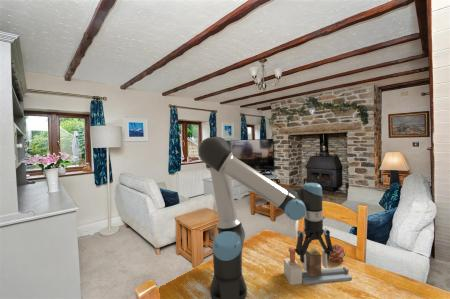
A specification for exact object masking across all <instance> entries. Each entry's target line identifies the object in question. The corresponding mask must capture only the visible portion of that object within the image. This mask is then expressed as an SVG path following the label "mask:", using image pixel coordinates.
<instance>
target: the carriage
mask: <svg viewBox="0 0 450 299" xmlns="http://www.w3.org/2000/svg"><path fill="white" fill-rule="evenodd" d="M305 256H306V271H307V273H308V274H309V275H310V276H318V275H321V269H322V254H321V253H320V252H319V251H318V250H317V249H316V248H307V250H306V253H305Z"/></svg>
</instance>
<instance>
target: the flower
mask: <svg viewBox="0 0 450 299" xmlns="http://www.w3.org/2000/svg"><path fill="white" fill-rule="evenodd" d="M332 248H333V252H330V254H329V259H330V260H329V261H330V262H336V261H341V262H344V258H345V257H346V253H347V252H346V250H345V248H344V246H343V245H340V244H339V243H335V244H332Z"/></svg>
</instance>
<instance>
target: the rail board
mask: <svg viewBox="0 0 450 299" xmlns="http://www.w3.org/2000/svg"><path fill="white" fill-rule="evenodd" d="M349 271H350V270H349V269H348V268H347V267H346V266H343V267H333V268H323V269H322V268H321V275H318V276H310V275H309V274H308V273H307V271H305V270H302V284H303V285H311V284H313V285H314V284H320V283H321V284H323V283H331V282H332V283H333V282H345V281H352V280H353V276H351V275H350V273H349Z"/></svg>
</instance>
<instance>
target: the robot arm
mask: <svg viewBox="0 0 450 299" xmlns="http://www.w3.org/2000/svg"><path fill="white" fill-rule="evenodd" d="M230 147H231V146H230V145H229V142H228V141H227V140H226V139H225V138H223V137H220V136H213V137H212V136H211V137H207V138H204V139H203V140H202V141H201V142H200V143H199V145H198V148H197V152H198V153H197V154H198V157H199V159H200V160H201V162H203V163H204V164H205V168H206V169H207V170H208V171H209V172H210V176H211V183H212V187H213V192H214V193H213V194H214V199H215V205H216V209H217V211H216V212H217V216H218V222H217V223H216V227H217V234H216V235H215V237H213V241H212V258H213V259H212V261H213V277H212V280H211V283H210V287H209V292H210V295H211V296H210V295H209V296H210V298H211V297H212V298H211V299H246V298H247V296H246V295H247V294H248V288H247V282H246V281H245V278H244V275H243V262H242V260H243V255H242V254H243V249H244V242H245V239H246V232H245V229H244V227H243V225H242V220H241V219H240V218H239V217H238V214H237V210H236V208H237V207H236V203H235V198H234V192H233V187H232V181H231V179H234V180H235V181H237V182H238V183H240V184H241V185H242V186H244V187H245V188H247V189H249V190H250V191H251V192H253V193H255V194H256V195H258V196H259V197H261V198H262V199H263V200H265V201H266V202H269V203H270V204H272V205H273V206H274V207H276V208H278V209H279V210H281V211H282V212H284V214H285V215H286V216H287V218H288V219H290V220H293V221H300V220H302V219H304V224H303V225H304V229H303V231H300V230H298V231H297V241H296V246H295V249H296V252H295V254H297V256H299V262H301V268H302V270H303V271H306V256H305V253H306V250H307V249H309V246H310V244H311V243H312V241H316V240H317V241H318V242H319V244H320V246H321V247H322V249H323V250H322V251H321V266H323V267H324V269H328V261H330V260H329V259H330V258H329V254H330V252H333V248H332V246H333V244H332V239H331V237H330V235H331V234H330V233H331V231H330V230H329V229H327V228H326V227H325V228H324V219H323V217H324V216H323V212H324V211H323V187H322V185H321V184H320V183H316V182H305V183H304V184H303V187H301V188H300V187H299V188H293V187H292V188H285V187H282V186H281V185H279V184H277V183H276V182H274V181H273V180H271V179H270V178H268V177H266V176H265V175H263V174H262V173H261V172H259V171H258V170H256V169H255V168H253V167H252V166H250V165H248V164H246V163H245V162H243V161H242V160H240V159H238V158H237V157H236V156H234V154H233V152H232V151H231V148H230ZM323 228H324V229H323ZM322 235H324V236H323V237H324V238H323V237H322ZM324 239H325V241H324ZM245 297H246V298H245Z"/></svg>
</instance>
